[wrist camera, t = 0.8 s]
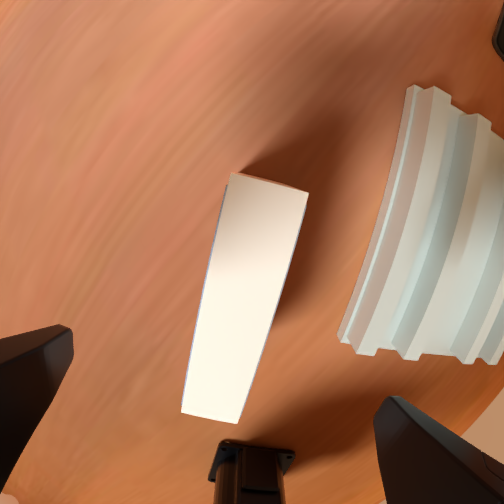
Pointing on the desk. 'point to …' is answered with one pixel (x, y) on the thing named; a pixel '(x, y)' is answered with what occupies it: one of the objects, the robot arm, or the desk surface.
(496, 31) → the smartphone
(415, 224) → the rack
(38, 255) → the desk surface
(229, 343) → the white rectangular block
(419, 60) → the desk surface
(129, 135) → the desk surface
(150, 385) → the desk surface
